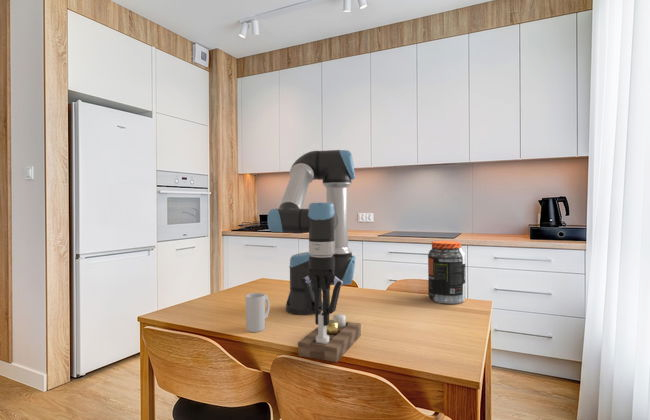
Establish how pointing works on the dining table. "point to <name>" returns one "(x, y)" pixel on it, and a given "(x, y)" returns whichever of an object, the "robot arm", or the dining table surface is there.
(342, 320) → the grey plug
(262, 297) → the mug
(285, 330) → the dining table surface
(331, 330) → the plug brass
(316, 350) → the socket block
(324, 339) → the grey plug
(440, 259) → the supplement tub
